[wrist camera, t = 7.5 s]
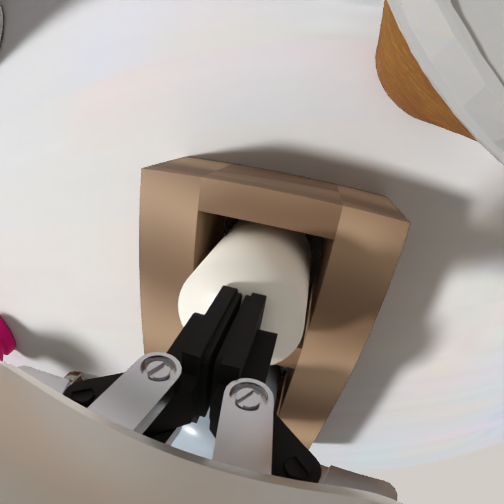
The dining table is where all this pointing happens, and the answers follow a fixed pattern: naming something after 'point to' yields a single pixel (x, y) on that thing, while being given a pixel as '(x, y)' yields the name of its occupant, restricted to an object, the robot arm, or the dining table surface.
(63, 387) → the robot arm
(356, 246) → the wooden egg rack
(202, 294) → the white egg
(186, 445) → the slate egg
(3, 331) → the pepper mill
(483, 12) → the disposable coffee cup
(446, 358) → the dining table surface
